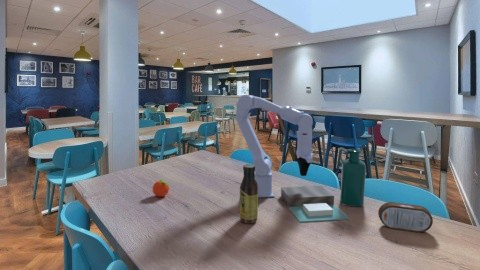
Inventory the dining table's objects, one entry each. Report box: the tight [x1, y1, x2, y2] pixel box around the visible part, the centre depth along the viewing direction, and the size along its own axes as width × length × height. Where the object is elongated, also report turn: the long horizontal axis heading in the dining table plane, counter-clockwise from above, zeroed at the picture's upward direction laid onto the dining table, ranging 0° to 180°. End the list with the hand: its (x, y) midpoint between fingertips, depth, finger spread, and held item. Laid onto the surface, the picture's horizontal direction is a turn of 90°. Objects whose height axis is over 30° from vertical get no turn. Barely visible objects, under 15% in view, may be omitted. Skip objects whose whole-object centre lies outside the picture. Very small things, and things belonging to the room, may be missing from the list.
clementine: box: [152, 179, 170, 197], centre depth 116 cm, size 8×7×7 cm
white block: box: [303, 203, 333, 216], centre depth 99 cm, size 9×6×2 cm, turn 97°
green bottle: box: [339, 146, 367, 208], centre depth 107 cm, size 10×8×22 cm
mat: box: [288, 204, 350, 223], centre depth 99 cm, size 18×12×1 cm, turn 96°
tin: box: [377, 201, 434, 233], centre depth 86 cm, size 15×3×8 cm, turn 70°
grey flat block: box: [280, 185, 335, 208], centre depth 110 cm, size 18×12×4 cm, turn 96°
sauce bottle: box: [239, 163, 259, 224], centre depth 92 cm, size 7×6×20 cm
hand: (303, 175), depth 112 cm, fingers closed
